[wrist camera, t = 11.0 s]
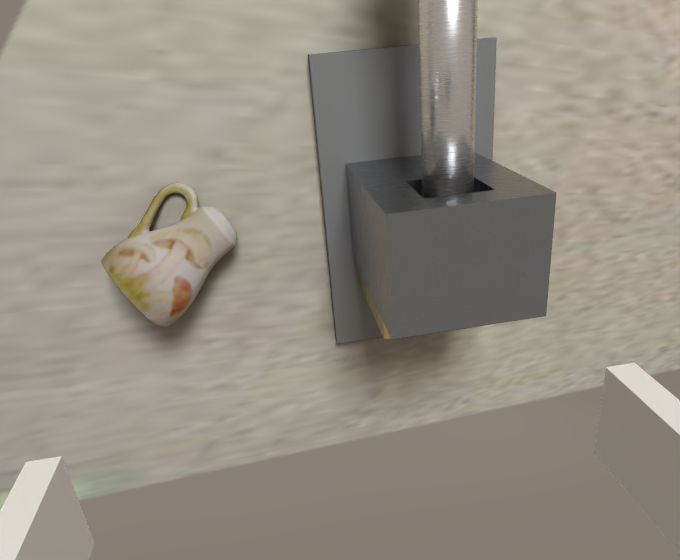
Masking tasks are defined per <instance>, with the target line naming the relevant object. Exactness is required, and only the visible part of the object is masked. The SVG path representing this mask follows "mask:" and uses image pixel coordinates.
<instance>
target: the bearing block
mask: <svg viewBox="0 0 680 560" xmlns="http://www.w3.org/2000/svg"><path fill="white" fill-rule="evenodd" d="M346 175H347V188H348V201H349V214H350V227H351V240H352V253H353V260H354V262H355V264H356V266H357V268H358V270H359V272H360V274H361V276H362V278H363V281H364V283H365V285H366V287H367V289H368V291H369V293H370V295H371V297H372V299H373V302H374V304H375V306H376V308H377V310H378V312H379V314H380V316H381V318H382V320H383V323H384V325H385V327H386V329H387V331H388V333H389V335H390V337H391V339H397V338H404V337H410V336H417V335H424V334H430V333H437V332H444V331H450V330H457V329H464V328H470V327H477V326H483V325H490V324H497V323H503V322H510V321H517V320H523V319H530V318H537V317H543V316H546V310H547V298H548V286H549V274H550V263H551V251H552V239H553V227H554V215H555V204H556V192H554V191H552V190H550V189H548V188H546V187H544V186H542V185H540V184H538V183H536V182H534V181H532V180H530V179H528V178H526V177H524V176H522V175H520V174H518V173H516V172H514V171H512V170H510V169H508V168H506V167H504V166H502V165H500V164H498V163H496V162H494V161H492V160H490V159H488V158H486V157H484V156H482V155H480V154H478V153H476V152H474V193H466V194H458V195H450V196H442V197H434V198H425V199H424V198H423V197H422V157H421V155H414V156H406V157H397V158H388V159H380V160H371V161H362V162H354V163H346Z"/></svg>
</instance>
